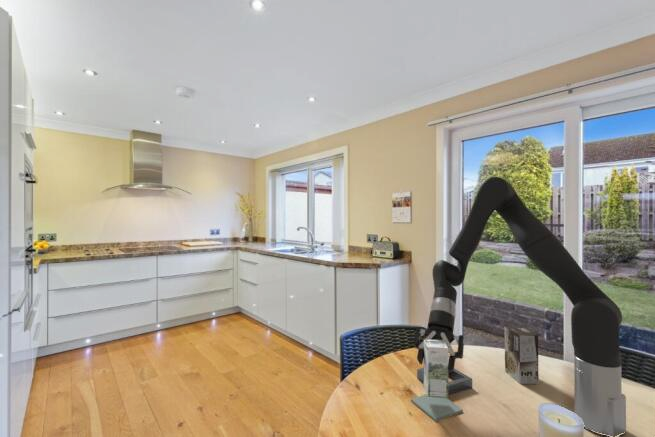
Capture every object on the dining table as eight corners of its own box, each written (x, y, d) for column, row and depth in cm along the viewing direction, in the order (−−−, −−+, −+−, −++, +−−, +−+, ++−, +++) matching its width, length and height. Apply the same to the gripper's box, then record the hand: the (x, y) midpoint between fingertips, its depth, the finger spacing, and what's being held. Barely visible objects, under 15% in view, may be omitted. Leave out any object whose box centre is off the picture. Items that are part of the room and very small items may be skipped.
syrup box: (442, 387, 90) (442, 338, 90) (448, 399, 84) (448, 347, 84) (423, 386, 90) (423, 338, 90) (427, 398, 84) (427, 346, 84)
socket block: (472, 388, 96) (472, 378, 96) (443, 396, 91) (443, 387, 91) (443, 370, 107) (443, 362, 107) (417, 378, 102) (417, 369, 102)
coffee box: (539, 384, 98) (539, 335, 98) (519, 384, 98) (519, 335, 98) (522, 370, 107) (521, 325, 107) (504, 370, 107) (503, 325, 107)
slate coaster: (462, 411, 84) (462, 409, 84) (435, 421, 80) (435, 419, 80) (436, 393, 93) (436, 391, 93) (410, 400, 89) (410, 398, 89)
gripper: (417, 305, 97) (407, 355, 87) (465, 312, 90) (460, 368, 80) (421, 317, 102) (412, 365, 92) (467, 325, 94) (463, 378, 84)
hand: (434, 366), depth 86 cm, fingers closed on syrup box, 7 cm apart
